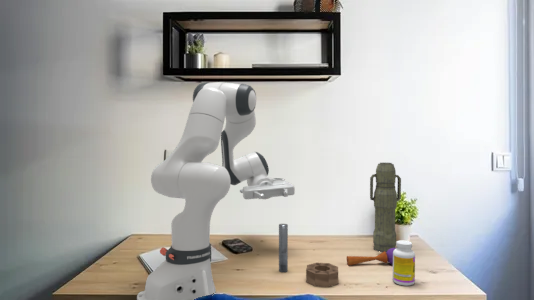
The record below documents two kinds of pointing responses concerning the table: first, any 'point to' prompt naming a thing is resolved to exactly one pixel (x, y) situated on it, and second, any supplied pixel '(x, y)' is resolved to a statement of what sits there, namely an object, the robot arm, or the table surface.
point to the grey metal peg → (283, 247)
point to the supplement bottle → (404, 263)
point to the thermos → (385, 206)
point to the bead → (322, 274)
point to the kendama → (372, 258)
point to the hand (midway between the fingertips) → (273, 195)
